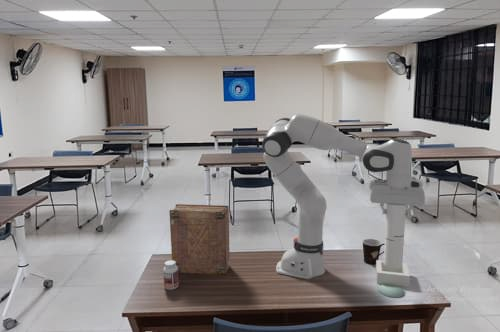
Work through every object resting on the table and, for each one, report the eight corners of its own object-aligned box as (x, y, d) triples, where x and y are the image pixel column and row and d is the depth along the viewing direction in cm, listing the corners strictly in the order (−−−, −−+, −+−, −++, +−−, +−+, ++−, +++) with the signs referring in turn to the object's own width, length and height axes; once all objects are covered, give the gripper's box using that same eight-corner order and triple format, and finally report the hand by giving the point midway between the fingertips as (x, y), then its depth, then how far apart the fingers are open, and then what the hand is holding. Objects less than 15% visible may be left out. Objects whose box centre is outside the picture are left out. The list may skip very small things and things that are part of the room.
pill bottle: (176, 281, 174) (175, 258, 171) (180, 288, 168) (179, 263, 166) (162, 284, 171) (161, 261, 169) (166, 291, 166) (164, 266, 163)
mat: (378, 295, 160) (378, 294, 160) (377, 284, 170) (378, 282, 169) (405, 299, 157) (405, 297, 157) (402, 286, 167) (402, 285, 167)
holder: (376, 283, 170) (377, 272, 169) (375, 270, 182) (376, 259, 181) (409, 287, 167) (409, 276, 166) (405, 273, 179) (406, 262, 178)
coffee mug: (361, 264, 188) (362, 244, 186) (361, 257, 196) (362, 238, 194) (387, 267, 185) (388, 247, 183) (386, 259, 193) (387, 240, 191)
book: (172, 272, 182) (168, 210, 177) (178, 263, 191) (175, 204, 186) (226, 275, 179) (224, 211, 173) (230, 266, 188) (228, 205, 182)
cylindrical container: (403, 268, 156) (407, 206, 152) (384, 266, 157) (388, 205, 154) (400, 261, 163) (404, 201, 159) (382, 259, 164) (385, 201, 161)
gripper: (370, 181, 154) (368, 215, 157) (427, 183, 149) (424, 219, 151) (370, 177, 160) (368, 210, 163) (424, 180, 155) (421, 214, 157)
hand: (395, 214), depth 157 cm, fingers closed on cylindrical container, 7 cm apart
